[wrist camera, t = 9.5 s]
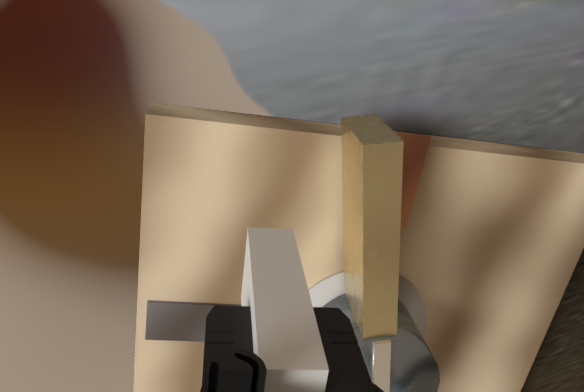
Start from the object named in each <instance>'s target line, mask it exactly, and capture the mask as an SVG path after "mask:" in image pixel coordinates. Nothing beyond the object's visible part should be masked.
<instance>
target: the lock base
mask: <svg viewBox="0 0 584 392" xmlns="http://www.w3.org/2000/svg"><path fill="white" fill-rule="evenodd" d="M394 132H395V133H396V134H397V135H398V136H399V137H400V138H401V139H402V140H403V141H404V144H403V173H402V201H401V229H400V258H399V286H398V299H399V300H400V301H401V302H402V303H403V304H404V305H405V306H406V308H407V309H408V311H409V313H410V315H411V317H412V318H413V320H414V322H415V324H416V326H417V328H418V329H419V331H420V333H421V335H422V337H423V338H424V340H425V342H426V344H427V346H428V348H429V349H430V351H431V353H432V355H433V357H434V358H435V360H436V362H437V364H438V367H439V372H440V383H439V388H438V391H437V392H520V391H521V389H522V387H523V384H524V382H525V380H526V378H527V375H528V373H529V371H530V369H531V366H532V364H533V362H534V359H535V357H536V355H537V353H538V350H539V348H540V346H541V344H542V341H543V339H544V337H545V334H546V332H547V330H548V328H549V325H550V323H551V321H552V319H553V316H554V314H555V312H556V310H557V307H558V305H559V303H560V300H561V298H562V296H563V294H564V291H565V289H566V287H567V285H568V282H569V280H570V278H571V275H572V273H573V271H574V269H575V266H576V264H577V262H578V260H579V257H580V255H581V253H582V250H583V248H584V153H577V152H569V151H560V150H552V149H543V148H534V147H526V146H517V145H509V144H500V143H492V142H483V141H475V140H466V139H458V138H449V137H441V136H432V135H424V134H415V133H407V132H398V131H394ZM248 227H257V228H275V229H293V232H294V236H295V240H296V244H297V247H298V251H299V255H300V259H301V263H302V267H303V271H304V275H305V279H306V283H307V286H308V290H309V294H310V298H311V302H312V306H313V307H323V306H324V305H325V304H326V303H328V302H329V301H331V300H332V299H334V298H336V297H338V296H340V295H342V294H345V292H344V245H343V193H342V142H341V125H338V124H330V123H321V122H313V121H304V120H296V119H287V118H279V117H270V116H262V115H253V114H244V113H235V112H227V111H218V110H210V109H201V108H193V107H185V106H175V105H168V104H159V103H151V104H150V105H149V108H148V110H147V112H146V116H145V140H144V162H143V186H142V208H141V232H140V254H139V277H138V278H139V279H138V301H137V322H136V345H135V346H136V347H135V368H134V369H135V370H134V391H133V392H200V390H201V387H202V374H203V358H204V342H205V327H206V316H207V315H208V314H209V312H210V311H211V309H212V308H213V307H214V305H221V306H241V292H242V282H243V271H244V261H245V250H246V240H247V230H248Z"/></svg>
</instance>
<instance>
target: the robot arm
mask: <svg viewBox="0 0 584 392" xmlns="http://www.w3.org/2000/svg"><path fill="white" fill-rule="evenodd" d="M200 392H384V391H383V390H382V389H380V388H379V387H378V386H377V385H376V384H374V383H372V381H371V378H370V375H369V372H368V369H367V367H366V364H365V361H364V358H363V355H362V352H361V350H360V347H359V345H358V341H357V338H356V336H355V334H354V330H353V327H352V324H351V321H350V319H349V318H348V317H347V316H346V315H345V314H344V313H343V312H342V311H341V310H340V309H339V308H328V307H313V306H312V302H311V298H310V294H309V290H308V286H307V283H306V279H305V275H304V271H303V267H302V263H301V259H300V255H299V251H298V247H297V244H296V240H295V236H294V232H293V229H275V228H257V227H248V230H247V240H246V250H245V261H244V271H243V282H242V292H241V306H221V305H214V307H213V308H212V309H211V311H210V312H209V314H208V315H207V316H206V327H205V342H204V358H203V374H202V387H201V390H200Z"/></svg>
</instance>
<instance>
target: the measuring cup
mask: <svg viewBox="0 0 584 392" xmlns="http://www.w3.org/2000/svg"><path fill="white" fill-rule="evenodd" d="M341 142H342V193H343V245H344V292H345V294H342V295H340V296H338V297H336V298H334V299H332V300H331V301H329V302H328V303H326V304H325V305H324V306H323V307H328V308H339V309H340V310H341V311H342V312H343V313H344V314H345V315H346V316H347V317H348V318H349V319H350V321H351V324H352V327H353V330H354V334H355V336H356V338H357V341H358V345H359V347H360V350H361V352H362V355H363V358H364V361H365V364H366V367H367V369H368V372H369V375H370V378H371V381H372V383H374V384H376V385H377V386H378V387H379V388H380V389H382V390H383V391H384V392H437V391H438V388H439V383H440V372H439V367H438V364H437V362H436V360H435V358H434V357H433V355H432V353H431V351H430V349H429V348H428V346H427V344H426V342H425V340H424V338H423V337H422V335H421V333H420V331H419V329H418V328H417V326H416V324H415V322H414V320H413V318H412V317H411V315H410V313H409V311H408V309H407V308H406V306H405V305H404V304H403V303H402V302H401V301H400V300H399V299H398V286H399V258H400V229H401V201H402V173H403V144H404V141H403V140H402V139H401V138H400V137H399V136H398V135H397V134H396V133H395V132H394V131H393V130H392V129H391V128H390V127H389V126H388V125H386V124H385V123H384V122H383V121H382V120H381V119H380V118H379V117H378V116H377V115H376V114H372V115H362V116H352V117H342V118H341Z"/></svg>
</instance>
